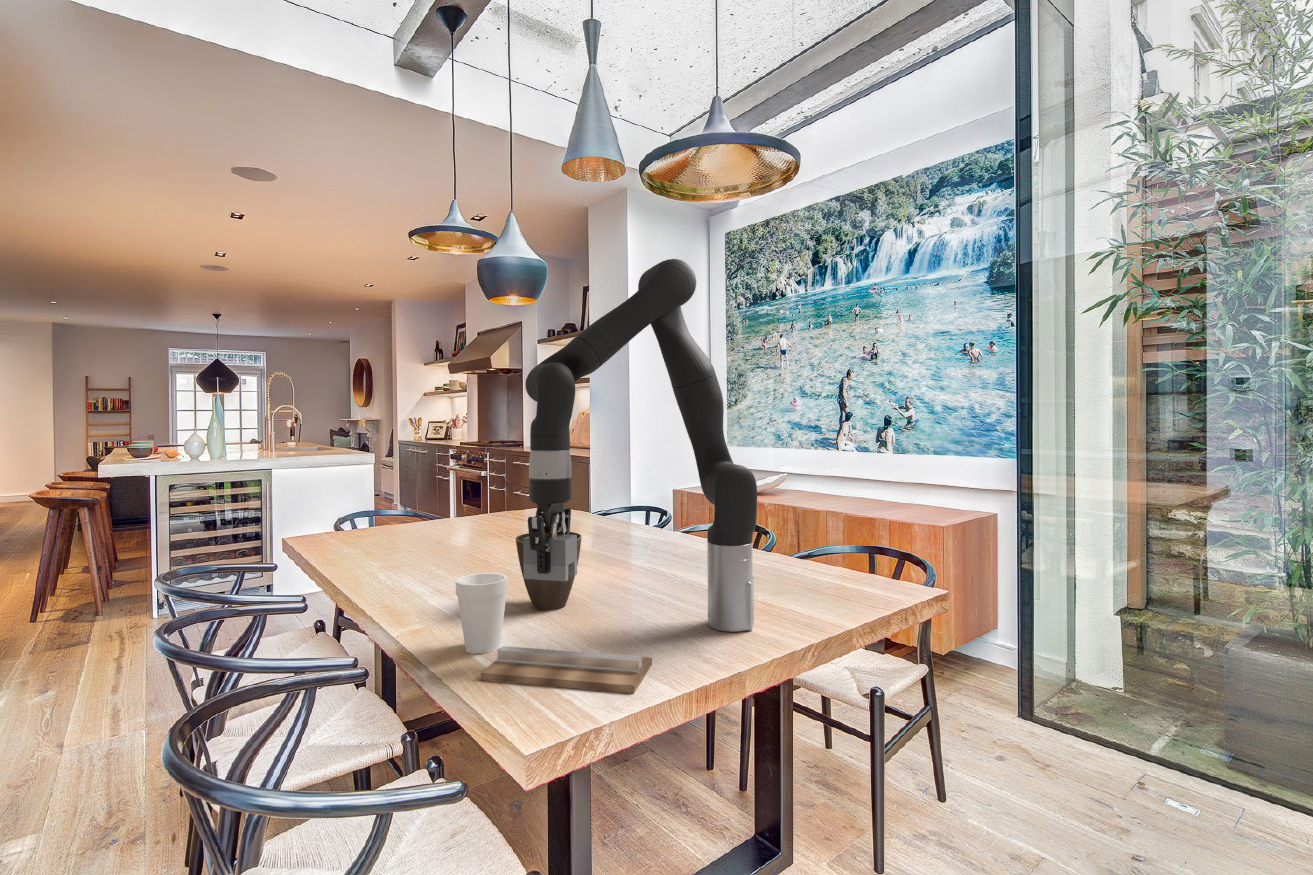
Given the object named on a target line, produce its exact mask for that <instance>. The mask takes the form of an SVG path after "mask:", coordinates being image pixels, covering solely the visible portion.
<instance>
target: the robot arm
mask: <svg viewBox="0 0 1313 875" xmlns="http://www.w3.org/2000/svg"><path fill="white" fill-rule="evenodd" d="M637 286H638V287H637V291H636V292H635V293H634V294H632V295H631V296H630V297H629V298H627V299H626V300H625V301H623V302H622V303H621V304H619V305H618V306H616V307H615V308H613V309H612V310H610V311H609V312H607V313H606V314H604V315H602V316H601V317H600V318H598V319H597V320H595V321H594V322H593V323H591V324H590V325H588V326H587V327H586V328H585V329H584V330H583V331H582V332H579V334H577V335H576V336H575V337H574V338H572V339H571V340H570V341H569V342H568V343H567V344H566V345H565V346H564V347H562V348H560V350H558V351H556V352H555V353H553V354H551V355H550V356H548V357H547V358H545V359H544V360H542V361H541V362H539V363H538V364H537V365H535V366H534V367H533V368H532V369H531V370H530V371H529V373H528V374H527V377H526V379H525V391H526V393H527V395H528V396H529V397H530V399H531V400H533V401H534V402H536V415H535V417H534V419H532V421H531V423H530V430H529V431H530V434H529V436H530V437H529V438H530V441H529V442H530V443H529V444H530V445H529V446H530V451H529V453H530V454H529V459H528V495H529V496H528V498H529V501H530V502H531V503H532V504H536V511H535V512H536V513H535V515H534V516H528V518H527V529H528V533H529V540H530V549H531V550H535V552H537V572H538V573H542V574H547V573H549V572H550V548H551V539H554V538H555V533H556V531H557V535H564V534H567V535H570V532H571V517H572V508H571V507H565V505H564V504H566V503H569V502H571V501H572V497H573V496H572V491H573V490H572V487H573V486H572V457H571V433H570V432H571V430H570V425H571V420H572V416H573V411H574V410H573V409H574V405H575V399H576V382H578V381H579V380H580V379H581V378H583V377H585V376H588V375H590V374H592V373H595V371H597V370H599V369H600V367H601V366H603V365H604V364H606V362H608V361H609V360H610V359H611V358H612V357H613V356H615V354H617V353H618V352H619V351H620V350H621V349H623V347H624V346H625V345H627V344H628V343H629V342H630V341H631V340H633V339H634V338H635V337H636V336H637V335H638V334H639V333H641V332H643V330H644V329H645V328H647V327H648V326H650V325H651V328H652V331H653V332H654V336H655V338H656V339H657V340H656V341H657V343H658V346H659V350H660V353H661V356H662V359H663V362H664V366H665V368H666V371H667V373H668V378H669V380H670V384H671V387H672V391H673V394H674V397H675V401H676V404H677V406H678V408H679V412H680V414H681V417H682V421H683V424H684V426H685V430H686V432H687V436H688V438H689V440H690V444H691V447H692V450H693V454H694V459H695V462H696V468H697V472H698V479H699V483H700V486H701V490H702V493H703V495H704V497H705V499H707V501H709V503H711V504H712V505H714V514H713V515H714V517H713V522H712V525H710V526H709V527H708V528H707V531H706V532H707V534H706V538H707V540H706V543H707V546H706V548H707V549H706V550H707V552H706V553H707V561H706V562H707V626H708V627H709V628H711V629H714V630H717V631H720V632H721V631H722V632H729V633H730V632H733V633H734V632H744V631H753V627H754V622H755V608H754V607H755V602H754V601H755V598H754V597H755V583H754V582H755V581H754V580H755V579H754V576H753V571H754V569H753V565H754V564H753V560H754V559H753V556H754V555H753V540H754V539H753V536H754V532H755V530H756V527H757V516H758V515H757V513H758V512H757V511H758V485H757V480H756V477H755V475H754V474H753V472H752V471H751V470H750V469H749V468H747V467H746V466H744V465H740V464H735V463H734V461H733V459H732V457H731V454H730V451H729V448H728V445H727V441H726V438H725V435H724V434H725V433H724V432H725V431H724V397H723V394H722V389H721V386H720V383H719V381H718V376H717V374H716V370H715V368H714V366H713V364H712V362H711V360H710V359H709V358H708V356H707V354H706V353H705V352H704V351H703V349H702V348H701V347H700V345H698V343H697V342H696V341H695V338H693V337H692V334H691V333H690V331H689V328H688V325H687V324H686V321H685V318H684V317H685V316H684V315H683V314H684V313H683V311H682V308H681V306H683V305H686V303H688V301H690V300H691V298H692V297H693V295H694V294H695V291H696V288H697V277H696V274H695V271H694V269H693V268H692V267H691V265H689V263H687V262H686V261H684V260H682V259H678V258H669V259H665V260H662V261H661V262H659V263H656V264H655V265H653V266H651V267H650V268H648V269H646V270H645V271H644V272H643V273H642V275H641V276H640V278H639V279H638V285H637ZM545 533H549V534H545ZM535 538H536V543H535ZM545 539H547V540H545Z"/></svg>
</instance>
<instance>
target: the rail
mask: <svg viewBox="0 0 1313 875" xmlns="http://www.w3.org/2000/svg"><path fill="white" fill-rule="evenodd" d="M496 651H497V659H496V660H497V663H508V664H520V665H533V666H546V667H558V668H571V669H583V670H596V671H608V672H621V673H633V674H639V672H640V671H641V669H642V668H643V666H642V657H643V656H642V655H641V656H640V655H630V654H629V655H628V654H627V655H626V654H614V653H603V652H602V653H599V652H588V651H586V652H585V651H573V650H572V651H571V650H559V649H547V648H545V649H544V648H533V647H532V648H531V647H520V646H518V647H517V646H506V645H504V646H503V645H502V646H500V648H499V649H498V650H496Z"/></svg>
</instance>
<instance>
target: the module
mask: <svg viewBox="0 0 1313 875" xmlns="http://www.w3.org/2000/svg"><path fill="white" fill-rule="evenodd" d="M545 534H549V533H545ZM545 540H547V539H545ZM535 543H536V538H535ZM523 563H524V579H537V580H552V581H567V580H568V575H570V576H577V575H578V565H577V535H567V534H564V535H557V531H556V533H555V538H554V539H551V548H550V572H549V573H547V574H542V573H538V572H537V552H535V550H531V549H530V540H529V536H528V537H525V538H523ZM524 579H523V580H524Z"/></svg>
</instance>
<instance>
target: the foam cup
mask: <svg viewBox="0 0 1313 875" xmlns="http://www.w3.org/2000/svg"><path fill="white" fill-rule="evenodd" d="M508 590H509V579H508V575H507V574H503V573H498V572H497V573H496V572H479V573H472V574H467V575H462V576H459V577H457V579H455V596H457V600H458V601H457V602H458V608H459V614H460V615H459V616H460V621H461V627H462V628H461V629H462V634H463V635H462V636H463V641H464V642H463V643H464V646H465V651H466V652H467V651H468V653H469V654H474V653H482V654H488V653H493V652H495V651H497V649H498V648H499V647H500V648H501V644H502V634H503V627H504V626H503V625H504V618H505V608H506V601H507V594H508V593H507V592H508ZM500 648H499V649H500Z"/></svg>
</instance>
